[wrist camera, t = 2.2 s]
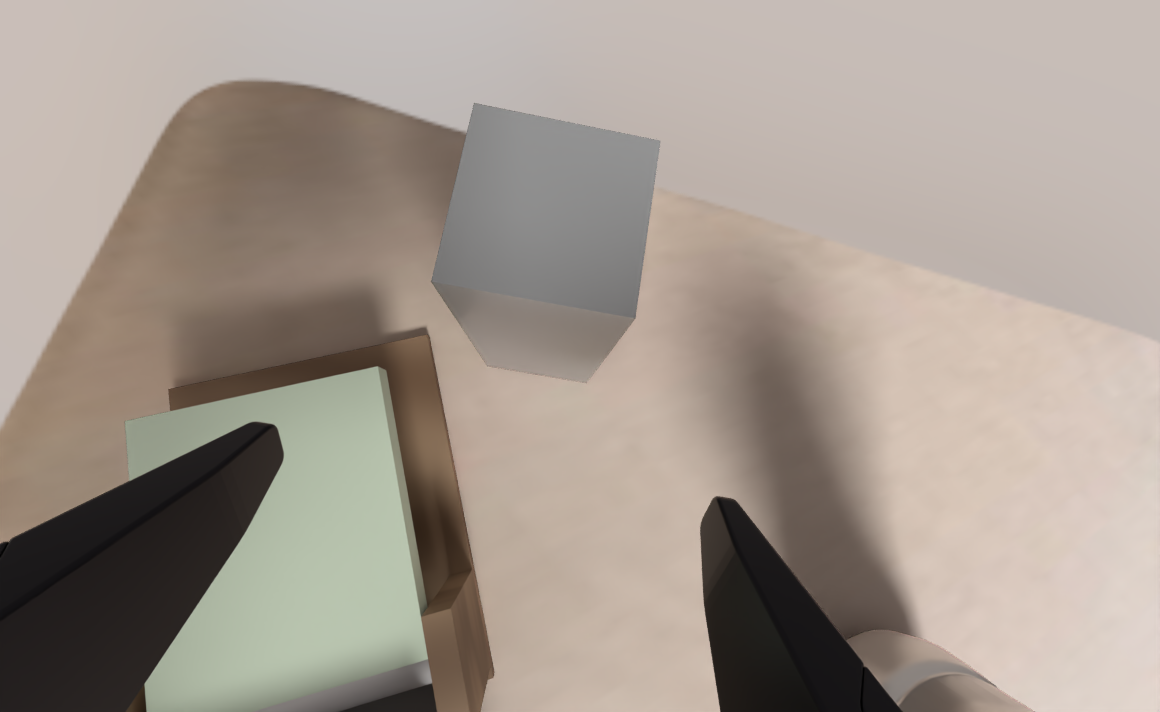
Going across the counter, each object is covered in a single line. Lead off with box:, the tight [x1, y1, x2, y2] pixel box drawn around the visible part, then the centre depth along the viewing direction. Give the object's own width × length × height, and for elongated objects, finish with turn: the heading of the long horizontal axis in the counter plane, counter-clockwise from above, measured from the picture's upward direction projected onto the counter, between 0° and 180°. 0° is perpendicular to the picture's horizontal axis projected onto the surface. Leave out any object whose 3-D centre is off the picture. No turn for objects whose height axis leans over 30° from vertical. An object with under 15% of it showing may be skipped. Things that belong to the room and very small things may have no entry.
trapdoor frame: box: [126, 335, 494, 712], centre depth 18 cm, size 16×12×6 cm
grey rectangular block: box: [431, 103, 660, 383], centre depth 18 cm, size 5×5×12 cm
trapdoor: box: [125, 366, 437, 712], centre depth 16 cm, size 16×9×6 cm, turn 14°
